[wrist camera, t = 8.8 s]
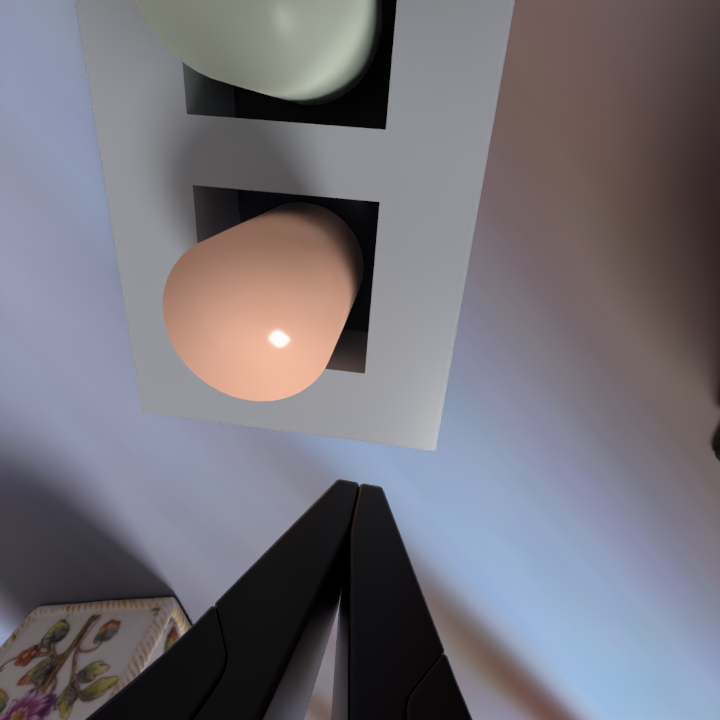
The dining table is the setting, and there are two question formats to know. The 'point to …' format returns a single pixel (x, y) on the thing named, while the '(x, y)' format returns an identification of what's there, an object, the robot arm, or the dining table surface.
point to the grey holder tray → (313, 178)
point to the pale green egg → (273, 43)
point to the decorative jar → (82, 655)
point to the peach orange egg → (264, 301)
